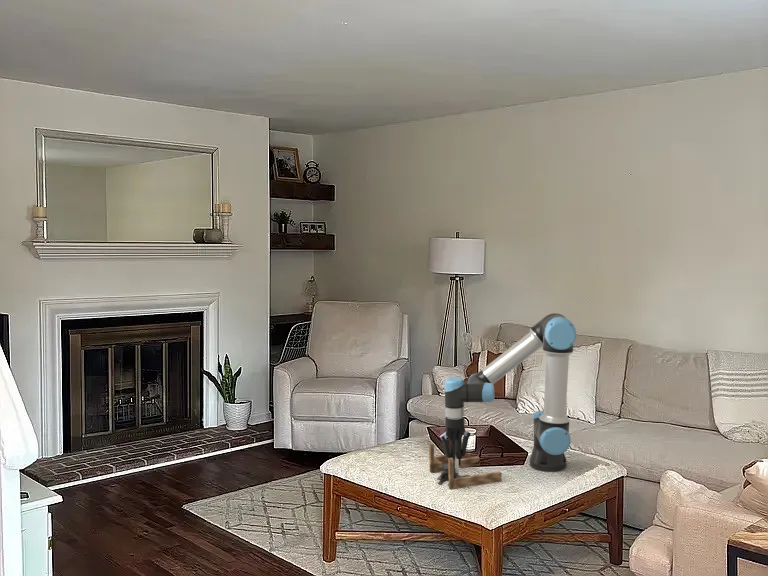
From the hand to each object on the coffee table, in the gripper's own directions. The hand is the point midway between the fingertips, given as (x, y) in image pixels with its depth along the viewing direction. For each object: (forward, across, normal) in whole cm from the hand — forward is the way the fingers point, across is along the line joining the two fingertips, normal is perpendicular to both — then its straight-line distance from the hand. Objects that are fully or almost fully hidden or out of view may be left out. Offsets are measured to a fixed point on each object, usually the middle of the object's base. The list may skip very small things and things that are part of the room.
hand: (455, 474), depth 310 cm
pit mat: (+2, -2, -13) cm, 13 cm away
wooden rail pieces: (+2, -4, -4) cm, 6 cm away
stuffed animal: (+2, +2, +2) cm, 4 cm away
